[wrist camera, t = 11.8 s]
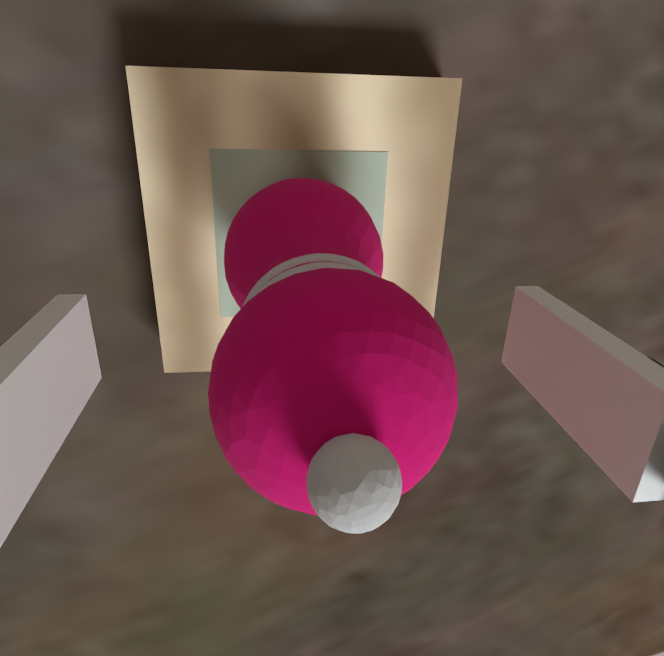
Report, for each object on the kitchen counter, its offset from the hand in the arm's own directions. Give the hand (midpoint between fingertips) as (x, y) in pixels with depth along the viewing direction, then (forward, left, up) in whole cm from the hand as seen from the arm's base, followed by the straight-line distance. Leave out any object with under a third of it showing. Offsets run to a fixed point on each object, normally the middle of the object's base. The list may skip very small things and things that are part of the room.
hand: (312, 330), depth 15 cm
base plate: (0, 0, -15) cm, 15 cm away
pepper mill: (0, 0, -13) cm, 13 cm away
